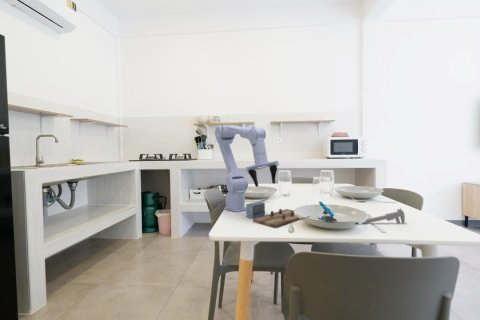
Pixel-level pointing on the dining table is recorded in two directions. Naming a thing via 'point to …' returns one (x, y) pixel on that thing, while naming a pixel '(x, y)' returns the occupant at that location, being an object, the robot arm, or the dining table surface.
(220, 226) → the dining table surface
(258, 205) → the block
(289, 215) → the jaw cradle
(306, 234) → the dining table surface
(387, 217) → the caliper
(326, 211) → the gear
